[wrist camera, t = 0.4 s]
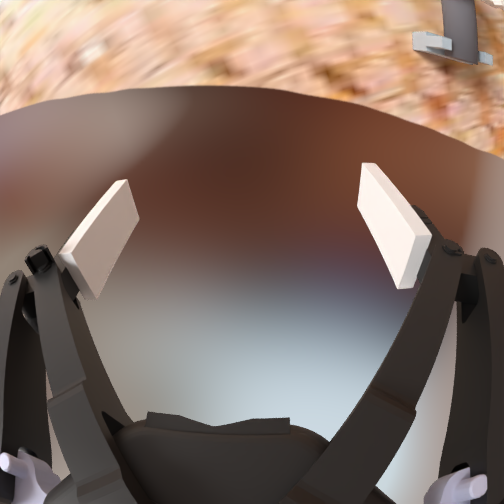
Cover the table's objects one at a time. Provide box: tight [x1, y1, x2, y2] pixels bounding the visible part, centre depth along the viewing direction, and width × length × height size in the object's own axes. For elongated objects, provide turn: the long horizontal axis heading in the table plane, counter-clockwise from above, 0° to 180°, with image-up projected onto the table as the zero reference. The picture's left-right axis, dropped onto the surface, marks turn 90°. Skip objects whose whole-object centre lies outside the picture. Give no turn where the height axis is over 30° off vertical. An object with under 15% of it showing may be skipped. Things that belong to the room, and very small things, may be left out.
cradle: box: [412, 32, 493, 66], centre depth 19 cm, size 16×10×8 cm, turn 5°
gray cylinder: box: [441, 0, 478, 65], centre depth 17 cm, size 16×5×5 cm, turn 5°
